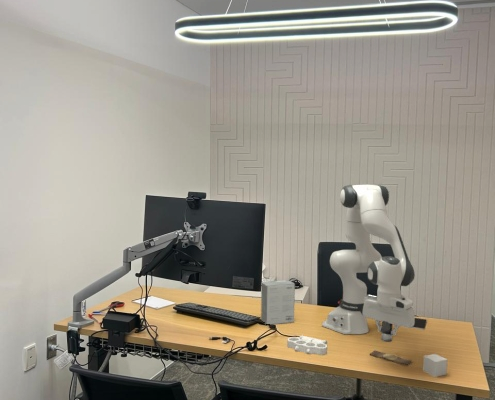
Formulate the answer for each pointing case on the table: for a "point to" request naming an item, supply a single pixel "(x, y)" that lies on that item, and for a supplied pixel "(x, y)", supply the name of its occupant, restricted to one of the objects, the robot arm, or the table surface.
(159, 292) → the table surface
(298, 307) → the table surface
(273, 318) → the hard drive box
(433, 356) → the white cube
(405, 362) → the strip
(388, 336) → the bottle with black cap
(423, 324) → the smartphone
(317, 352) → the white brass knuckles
